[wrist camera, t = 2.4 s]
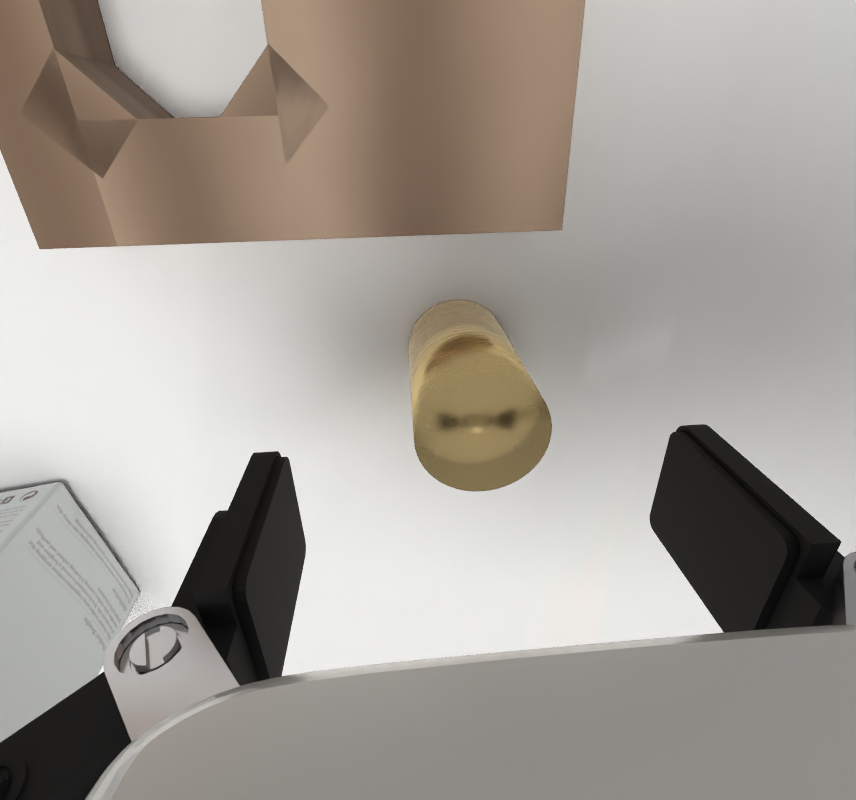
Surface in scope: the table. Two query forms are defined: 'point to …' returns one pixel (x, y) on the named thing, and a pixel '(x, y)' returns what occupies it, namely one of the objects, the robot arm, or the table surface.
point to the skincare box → (53, 602)
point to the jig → (299, 126)
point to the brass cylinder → (473, 400)
